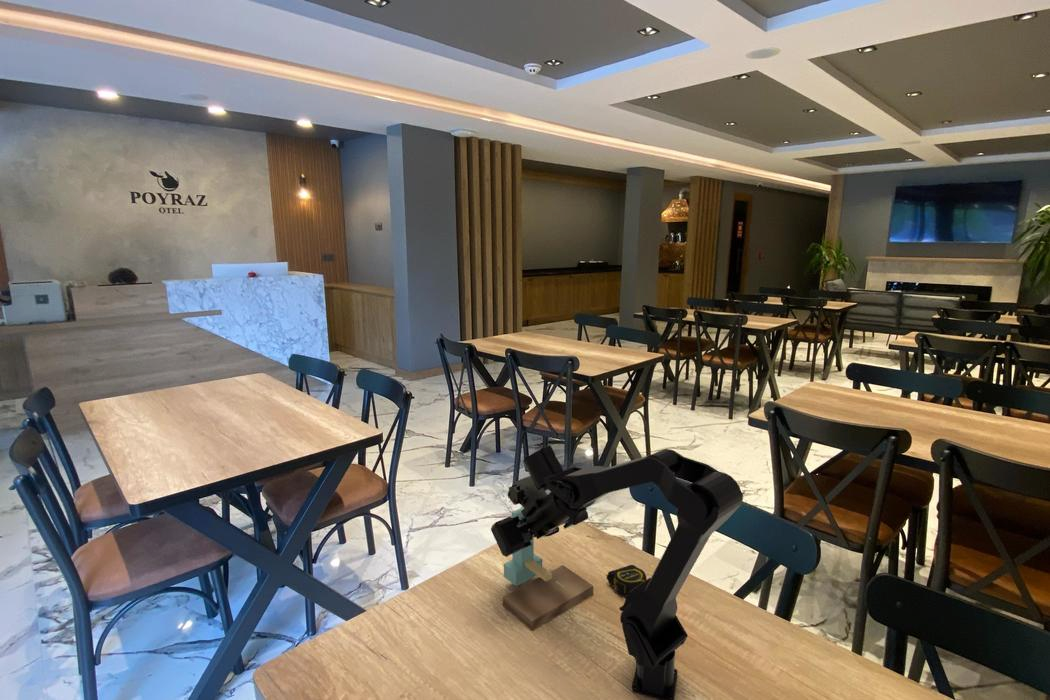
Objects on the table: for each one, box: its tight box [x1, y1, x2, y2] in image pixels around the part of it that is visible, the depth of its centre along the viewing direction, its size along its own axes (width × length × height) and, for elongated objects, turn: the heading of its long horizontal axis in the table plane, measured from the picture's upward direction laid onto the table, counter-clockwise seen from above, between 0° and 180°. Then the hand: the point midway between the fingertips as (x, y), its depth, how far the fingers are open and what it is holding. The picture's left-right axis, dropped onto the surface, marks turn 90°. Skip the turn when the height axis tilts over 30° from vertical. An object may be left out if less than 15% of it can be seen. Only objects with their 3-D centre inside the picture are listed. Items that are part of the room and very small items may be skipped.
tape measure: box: [605, 564, 648, 597], centre depth 109 cm, size 7×7×4 cm
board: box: [502, 565, 595, 632], centre depth 106 cm, size 16×9×2 cm, turn 129°
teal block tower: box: [503, 507, 552, 587], centre depth 106 cm, size 7×10×14 cm
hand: (518, 538), depth 110 cm, fingers closed on teal block tower, 3 cm apart
